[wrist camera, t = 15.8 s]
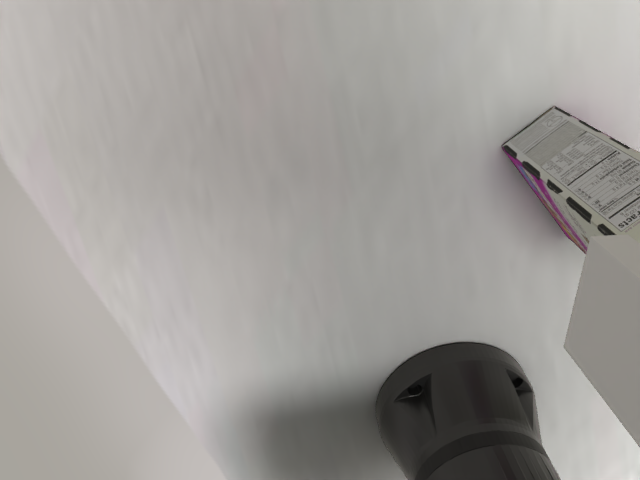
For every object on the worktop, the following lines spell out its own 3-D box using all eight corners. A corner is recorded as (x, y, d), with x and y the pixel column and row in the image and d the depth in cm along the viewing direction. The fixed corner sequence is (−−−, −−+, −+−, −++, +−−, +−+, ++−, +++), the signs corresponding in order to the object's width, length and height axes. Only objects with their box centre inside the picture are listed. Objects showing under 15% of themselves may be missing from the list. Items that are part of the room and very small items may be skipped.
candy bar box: (621, 200, 43) (796, 331, 29) (567, 237, 44) (708, 380, 30) (555, 98, 38) (726, 194, 24) (497, 144, 39) (626, 260, 25)
